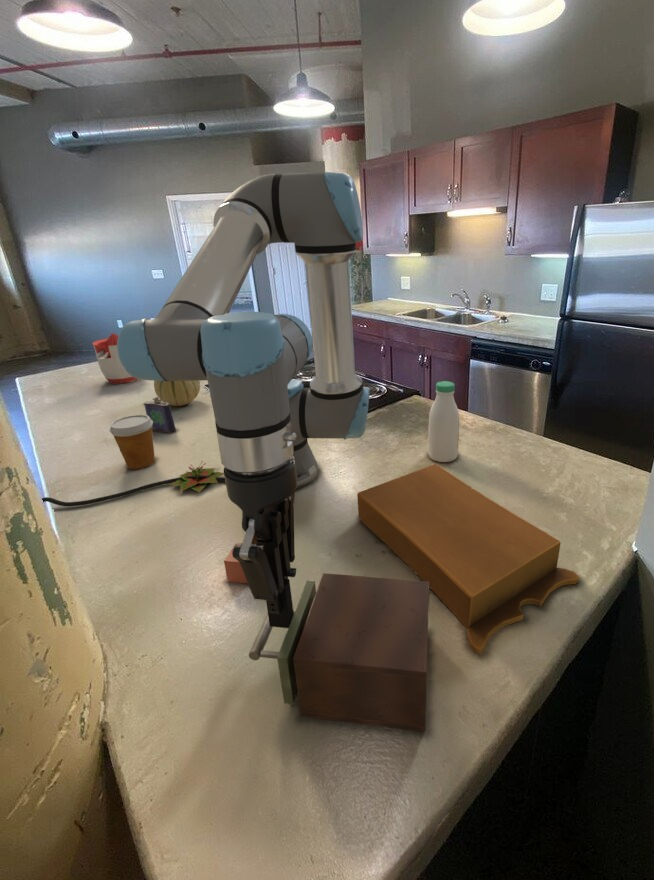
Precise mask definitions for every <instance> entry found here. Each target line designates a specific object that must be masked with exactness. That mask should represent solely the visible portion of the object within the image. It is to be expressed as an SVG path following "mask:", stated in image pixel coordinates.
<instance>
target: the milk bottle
mask: <svg viewBox="0 0 654 880" xmlns="http://www.w3.org/2000/svg"><path fill="white" fill-rule="evenodd" d="M455 387H456V384H455V383H454V382H452V381H447V380H442V381H438V382H436V384H435V393H436V396H435V399H434V401H433V403H432V405H431V406H430V410H429V414H428V435H427V437H428V438H427V440H428V441H427V442H428V443H427V454H428V457H429V458H430V459H431V460H432V461H436V462H439V463H450V462H453V461H455V460H456V459H457V458H458V456H459V455H458V454H459V440H460V439H459V437H460V412H459V408H458V406H457V403H456V401H455V397H454V394H455V389H456V388H455Z"/></svg>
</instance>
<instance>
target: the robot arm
mask: <svg viewBox="0 0 654 880" xmlns="http://www.w3.org/2000/svg"><path fill="white" fill-rule="evenodd" d="M363 239H364V228H363V215H362V209H361V204H360V199H359V193H358V190H357V186H356V184H355V181H354V180H353V178H352V177H351V175H349V174H348V173H346V172H333V171H322V172H320V171H319V172H298V173H297V172H296V173H267V174H263V175H259V176H257V177H254V178H253V179H250V180H248V181H247V182H245V183H244V184H242V185H240V186H239V187H237V188H236V189H235V190H233V191H232V192H231V193H230V194H229V195H228V196H227V197H226V198H225V199H224V200H223V202H221V204H219V207H218V208H217V209H216V211H215V213H214V216H213V228H212V230H211V231H210V233H209V234H208V236H207V238H206V239H205V241H204V242H203V244H202V246H200V248H199V250H198V251H197V253H196V254H195V256H194V258H193V259H192V261H191V263H190V264H189V265H188V267H187V268H186V270H185V272H184V273H183V275H182V276H181V278H180V280H179V281H178V283H177V284H176V286H175V287H174V289H173V290H172V292H171V294H170V295H169V296H168V298H167V300H166V301H165V302H164V304H163V306H162V308H161V309H160V311H159V312H158V313H157V315H156V317H154V318H153V319H150V318H146V317H145V318H142V319H137V320H131V321H129V322H127V323H125V324H124V325H123V326H122V327H121V329H120V331H119V333H118V341H117V351H118V356H119V360H120V362H121V364H122V365H123V366H124V368H125V370H126V371H127V372H128V373H129V374H130V375H131V376H133V377H135V378H137V380H144V381H153V382H154V381H163V382H169V381H197V380H199V381H207V384H208V390H209V394H210V400H211V405H212V410H213V416H214V421H215V422H214V424H215V428H216V436H217V443H218V450H219V456H220V461H221V465H222V466H223V473H224V474H223V476H224V477H221V476H219V477H216V480H217V482H225V488H226V494H227V497H228V499H229V500H230V502H231V503H233V504H234V505H235V506H237V507H238V508H239V509H240V510H241V512H242V513H241V528H242V531H244V532H245V533H244V536H243V541H242V542H241V545H235V544H234V545H235V546H234V545H233V547H234V548H233V547H232V548H233V552H232V555H233V557H234V558H235V559H236V560H238V561H239V562H240V565H241V567H242V570H243V572H244V575H245V577H246V580H247V582H248V583H247V584H248V587H249V590H250V593H251V595H252V598H253V599H254V600H259V601H265V605H266V610H267V614H268V617H269V624H270V627H273V628H282V629H288V628H289V626H290V623H291V620H292V618H293V615H294V613H293V611H294V606H293V597H292V591H291V590H292V589H291V582H290V581H291V580H290V579H289V578H295V577H296V575H297V568H295V567H292V566H291V563H293V562H294V561H295V559H296V552H295V546H296V545H295V544H296V543H295V497H296V490H297V489H300V488H303V487H304V486H307V485H308V484H310V483H311V482H313V481H314V480H315V479H316V477H317V476H318V473H319V468H318V461H317V459H316V457H315V456H314V455H315V454H314V453H313V451H312V449H311V447H310V445H309V440H308V439H343V440H347V439H360V438H361V437H363V436H364V434H365V433H366V426H367V420H368V412H369V403H370V392H371V390H370V388H369V387H366V386H364V385H363V384H364V383H363V379H362V377H360V376H359V375H358V374H357V373H356V365H355V348H354V331H353V330H354V328H353V312H352V294H351V277H350V259H352V257H353V256H354V255H355V253H356V252H357V243H359V242H362V241H363ZM276 243H277V244H280V243H282V244H283V243H284V244H285V243H286V244H289V243H290V244H294V251H295V255H297V256H298V257H299V258H300V259H301V260H302V261H303V263H304V271H305V280H306V282H305V283H306V290H307V301H308V311H309V312H308V313H309V320H310V321H309V322H310V329H309V327H308V326H307V325H306V324H305V322H304V321H303V320H301V319H300V318H298V317H297V316H295V315H292V314H288V313H279V314H278V313H277V314H272V313H270V312H263V311H240V312H239V311H238V312H231V310H232V308H233V305H234V304H235V302H236V300H237V297H238V295H239V294H240V291H241V289H242V287H243V284H244V282H245V280H246V278H247V276H248V274H249V272H250V269H251V267H252V265H253V263H254V261H255V259H256V257H257V255H259V254H261V253H262V252H264V251H265V250H266V249H267V247H268V246H269V245H272V244H276ZM312 351H313V359H314V371H315V376H314V377H313V378H312V380H311V381H310V382H309V387H304V383H303V382H302V381H301V380H300V379H296V378H294V377H296V376H297V374H298V373H299V372H301V371H302V370H303V369H304V368H305V366H306V365H307V364H308V360H309V358H310V356H311V354H312ZM198 476H199V475H198ZM195 477H196V476H195ZM195 477H194V476H186V477H185V478H190V479H196V478H195ZM209 477H211V476H206V475H200V479H205V478H209ZM180 479H181V480H184V479H182V478H181V477H174V478H169V479H165V480H161V481H156V482H153V483H149V484H144V485H141V486H138V487H135V488H131V489H128V490H125V491H122V492H118V493H113V494H109V495H104V496H101V497H96V498H92V499H91V498H90V499H86V500H78V501H70V502H68V501H62V500H60V499H59V500H58V499H56V498H53V497H48V496H45V497H42V498H41V499H42V500H43V503H45V502H47V503H51V504H54V505H57V506H61V507H78V506H79V507H80V506H85V505H86V506H87V505H92V504H96V503H101V502H105V501H109V500H113V499H117V498H121V497H122V498H123V497H125V496H128V495H132V494H134V493H137V492H138V493H139V492H141V491H144V490H147V489H151V488H156V487H159V486H165V485H169V484H173V483H174V482H176V481H177V480H180ZM198 479H199V477H198Z"/></svg>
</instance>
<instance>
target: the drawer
mask: <svg viewBox="0 0 654 880" xmlns="http://www.w3.org/2000/svg"><path fill="white" fill-rule="evenodd" d="M316 592H317V587H316V581H315V580H306V582H305V585H304V587H303V590H302V592H301V595H300V597H299V600H298V603H297V605H296V608H295V610H293V613H294V615H293V618H292V620H291V623H290V626H289V628H287V631H286V634H285V636H284V639H283V641H282V644H281V646H280V649H279V651H278V650H267V649H265V648H266V647H265V646H266V644H267V642H268V640H269V637H270V635H271V632H272V630H273V628H274V627H270V624H269V617H268V613H267V614H266V616H265V618H264V620H263V622H262V624H261V627H260V629H259V631H258V633H257V635H256V637H255V640H254V642H253V644H252V646H251V649H250V650H249V653H248V657H249V658H250V660H252V661H258V660H260V658H265V659H274V660H275V659H276V660H277V666H278V671H279V679H280V684H281V690H282V698H283V703H284V705H291V706H294V705H295V703H296V699H297V696H298V689H297V682H296V674H295V667H294V659H293V658H294V655H295V652H296V649H297V646H298V643H299V641H300V638H301V635H302V632H303V629H304V626H305V623H306V620H307V618H308V615H309V612H310V609H311V606H312V603H313V600H314V597H315V595H316Z"/></svg>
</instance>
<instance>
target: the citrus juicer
mask: <svg viewBox="0 0 654 880" xmlns="http://www.w3.org/2000/svg"><path fill="white" fill-rule="evenodd" d="M118 336H119V334H116V333H114V332H113V333H111V334H110V335H109V337H108V338H103V339H98V340H96V341H95V340H94V341H93V342H92V346H93V348H94V352H95V359H96V360H97V363H98V366H99V369H100V371H101V373H102V375H103V376H104V378H105V379H106V381H107V382H108V383H110V384H128V383H130V382H135V381H137V380H138V379H137V378H135V377H133V376H131V375H130V374H129V373H128V372H127V371H126V370H125V368H124V366H123V365H122V364H121V362H120V360H119V356H118V351H117V341H118Z"/></svg>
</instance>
